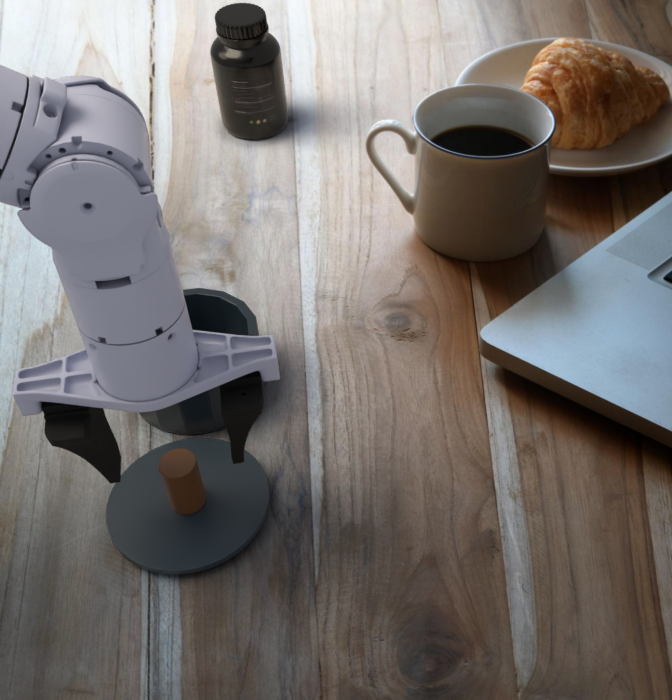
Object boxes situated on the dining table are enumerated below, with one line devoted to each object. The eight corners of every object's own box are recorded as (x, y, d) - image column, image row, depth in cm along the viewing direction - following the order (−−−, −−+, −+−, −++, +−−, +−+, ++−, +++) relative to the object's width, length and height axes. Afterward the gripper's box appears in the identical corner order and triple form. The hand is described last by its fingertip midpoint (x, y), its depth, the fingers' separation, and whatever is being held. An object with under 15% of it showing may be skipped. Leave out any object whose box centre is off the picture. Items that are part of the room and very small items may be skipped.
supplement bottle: (218, 110, 98) (199, 0, 89) (282, 101, 100) (270, -7, 91) (227, 146, 94) (208, 34, 85) (294, 136, 95) (283, 26, 87)
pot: (131, 444, 67) (114, 395, 64) (133, 346, 74) (117, 297, 70) (271, 423, 69) (262, 374, 65) (260, 330, 76) (252, 280, 72)
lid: (107, 593, 59) (86, 548, 55) (111, 459, 67) (93, 411, 63) (277, 563, 61) (269, 518, 57) (264, 436, 68) (255, 388, 65)
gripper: (260, 244, 54) (284, 397, 64) (-5, 275, 51) (63, 430, 61) (271, 328, 49) (295, 480, 59) (-20, 367, 47) (55, 519, 57)
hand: (177, 460), depth 60 cm, fingers open, 7 cm apart
